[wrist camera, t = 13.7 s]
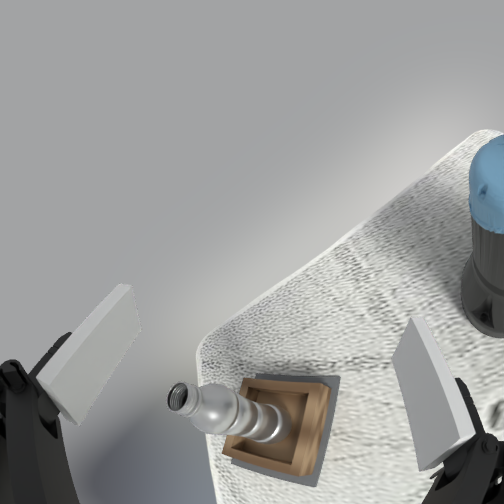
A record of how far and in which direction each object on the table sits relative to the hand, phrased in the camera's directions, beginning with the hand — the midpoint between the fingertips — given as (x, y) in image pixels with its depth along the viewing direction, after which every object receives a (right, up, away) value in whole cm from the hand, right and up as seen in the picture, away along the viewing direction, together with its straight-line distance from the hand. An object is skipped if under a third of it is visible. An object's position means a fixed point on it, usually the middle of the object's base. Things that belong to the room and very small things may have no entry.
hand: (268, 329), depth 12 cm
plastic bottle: (+3, -23, +24) cm, 33 cm away
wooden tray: (+4, -24, +24) cm, 34 cm away
